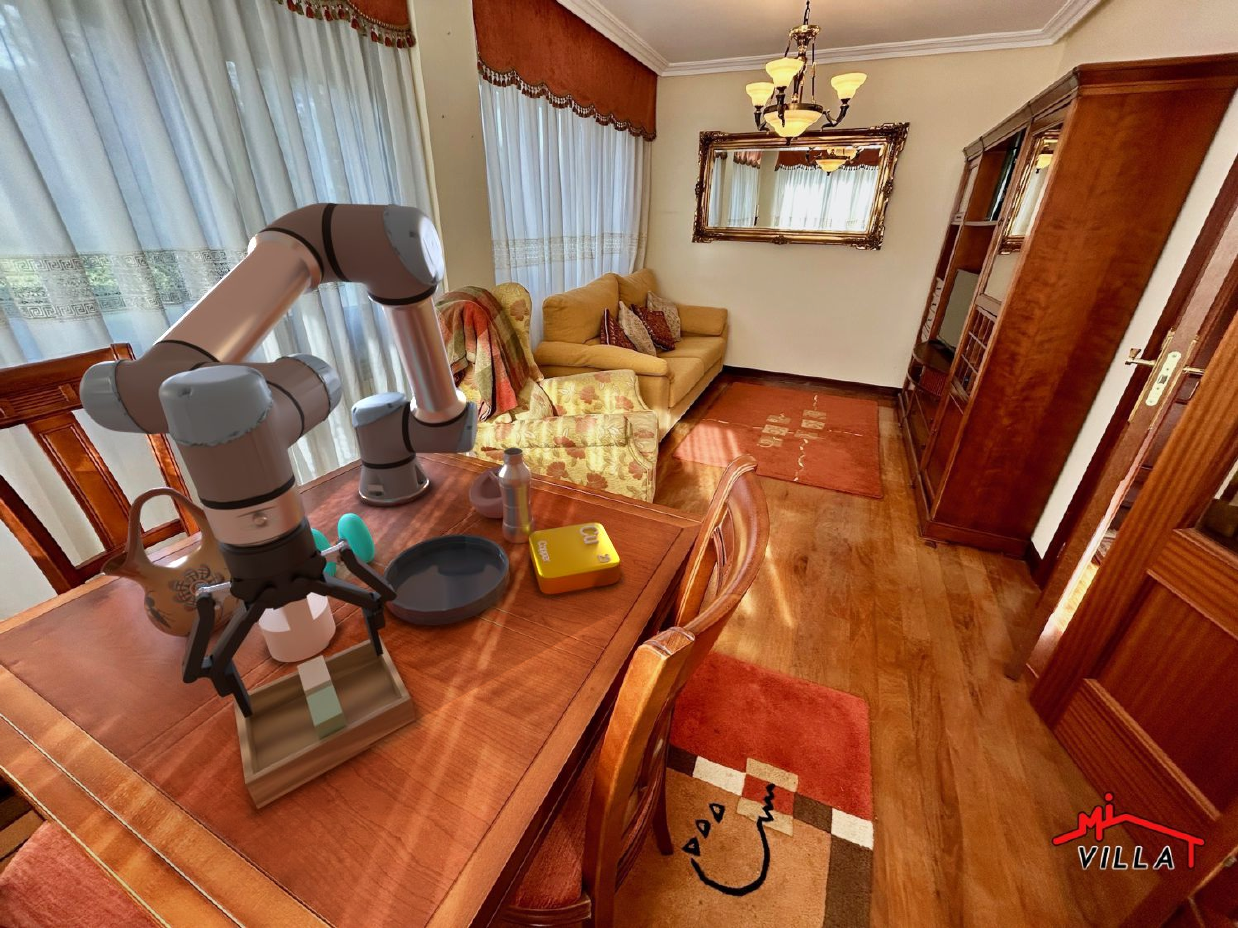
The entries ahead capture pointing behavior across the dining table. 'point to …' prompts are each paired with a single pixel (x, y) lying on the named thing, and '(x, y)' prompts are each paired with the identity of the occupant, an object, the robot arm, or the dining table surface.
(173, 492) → the ceramic vessel
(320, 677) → the beige rectangular block
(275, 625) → the base with upright slab
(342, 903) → the dining table surface
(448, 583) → the dark grey round tray
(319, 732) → the green rectangular block
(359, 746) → the holder
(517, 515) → the silver metal bottle
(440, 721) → the dining table surface
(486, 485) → the pink rounded hollow piece
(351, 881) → the dining table surface
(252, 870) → the dining table surface
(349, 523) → the donuts
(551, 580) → the element tile
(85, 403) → the robot arm
